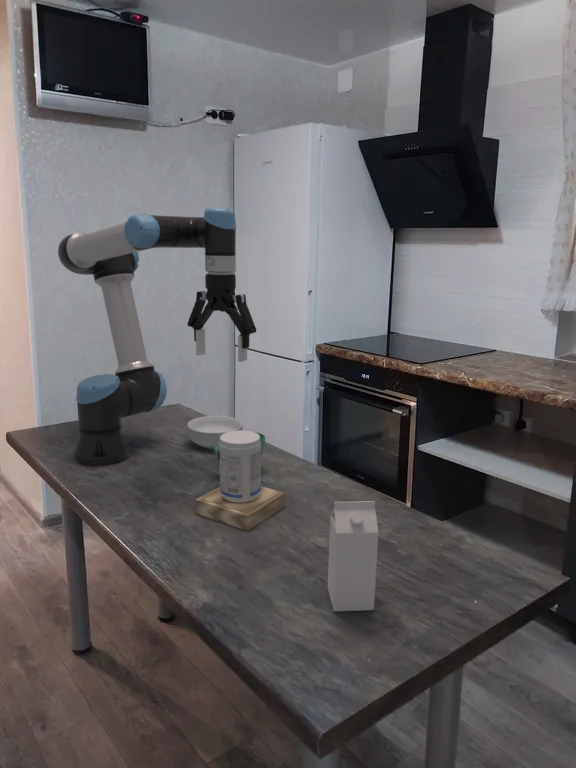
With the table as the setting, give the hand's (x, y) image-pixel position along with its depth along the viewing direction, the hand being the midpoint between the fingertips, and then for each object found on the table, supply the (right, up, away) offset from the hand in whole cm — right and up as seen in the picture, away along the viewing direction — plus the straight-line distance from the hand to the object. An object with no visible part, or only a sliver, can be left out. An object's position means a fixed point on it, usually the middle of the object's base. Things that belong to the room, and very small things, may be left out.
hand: (221, 357), depth 153 cm
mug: (+4, -31, +11) cm, 33 cm away
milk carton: (+28, -46, -46) cm, 70 cm away
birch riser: (+6, -36, -11) cm, 39 cm away
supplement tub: (+6, -33, -12) cm, 36 cm away
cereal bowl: (-6, -26, +33) cm, 42 cm away
